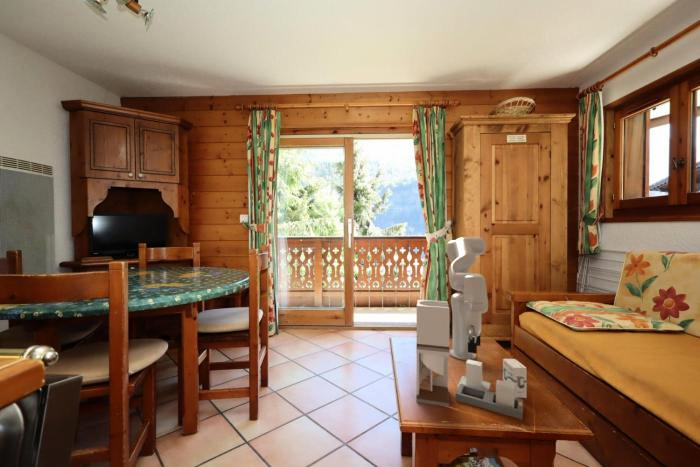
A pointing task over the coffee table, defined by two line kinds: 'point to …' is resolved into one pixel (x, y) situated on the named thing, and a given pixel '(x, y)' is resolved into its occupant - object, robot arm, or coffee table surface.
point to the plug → (474, 373)
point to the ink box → (516, 376)
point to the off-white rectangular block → (505, 393)
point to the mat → (484, 384)
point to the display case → (432, 352)
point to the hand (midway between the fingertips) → (474, 348)
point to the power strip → (488, 401)
